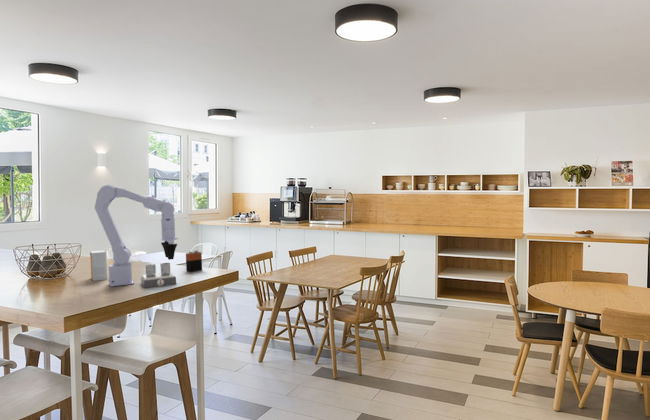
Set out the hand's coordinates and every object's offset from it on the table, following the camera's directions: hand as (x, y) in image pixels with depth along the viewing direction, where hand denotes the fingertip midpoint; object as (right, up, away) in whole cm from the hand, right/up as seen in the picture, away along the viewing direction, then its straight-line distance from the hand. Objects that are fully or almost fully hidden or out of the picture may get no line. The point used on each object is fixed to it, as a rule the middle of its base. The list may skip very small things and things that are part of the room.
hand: (169, 258), depth 204 cm
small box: (-36, -11, +7) cm, 38 cm away
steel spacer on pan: (-5, -7, -9) cm, 12 cm away
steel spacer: (0, -7, -6) cm, 9 cm away
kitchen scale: (-2, -10, -7) cm, 13 cm away
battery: (+5, -9, +23) cm, 25 cm away
